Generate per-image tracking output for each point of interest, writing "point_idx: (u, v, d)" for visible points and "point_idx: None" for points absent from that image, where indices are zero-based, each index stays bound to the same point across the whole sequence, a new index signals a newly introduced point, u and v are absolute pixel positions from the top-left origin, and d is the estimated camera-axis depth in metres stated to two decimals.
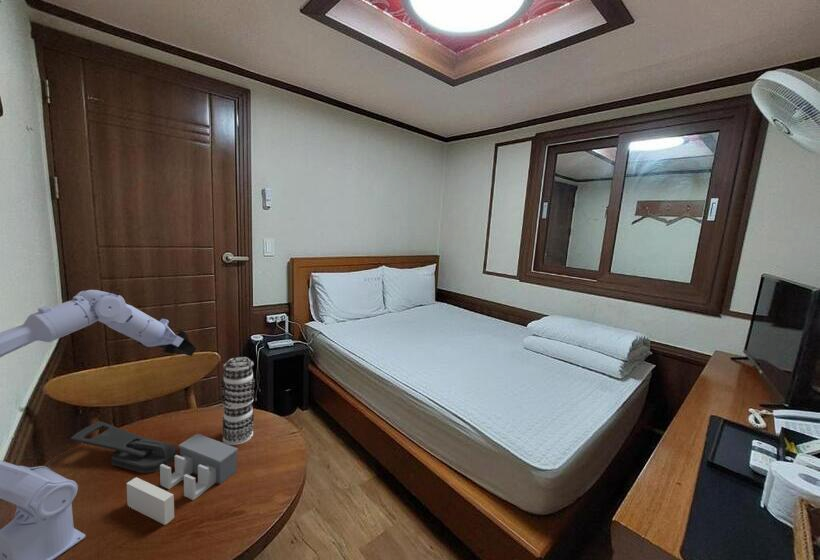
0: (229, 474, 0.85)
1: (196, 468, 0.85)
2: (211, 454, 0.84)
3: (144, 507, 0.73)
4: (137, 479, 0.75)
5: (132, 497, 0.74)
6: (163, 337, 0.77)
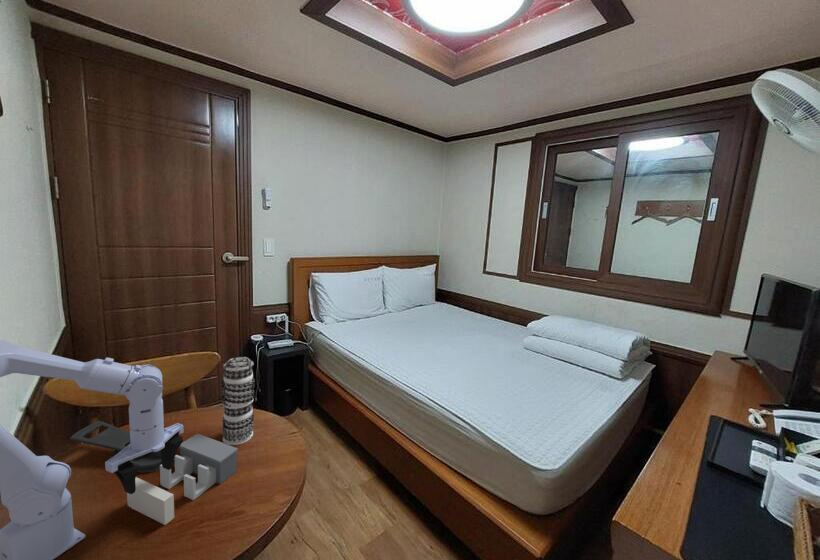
0: (229, 474, 0.85)
1: (196, 468, 0.85)
2: (211, 454, 0.84)
3: (144, 507, 0.73)
4: (137, 479, 0.75)
5: (132, 497, 0.74)
6: None
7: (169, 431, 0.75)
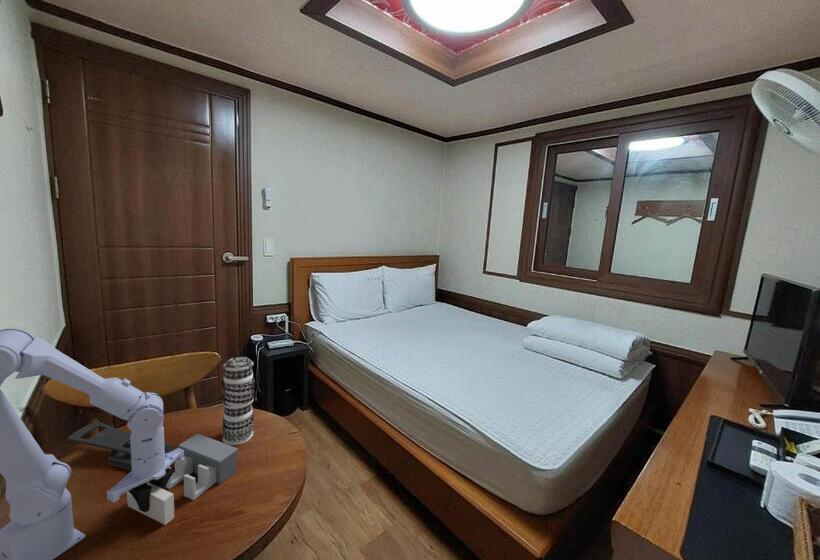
0: (229, 474, 0.85)
1: (196, 468, 0.85)
2: (211, 454, 0.84)
3: None
4: None
5: (132, 496, 0.74)
6: (131, 479, 0.69)
7: (170, 457, 0.76)
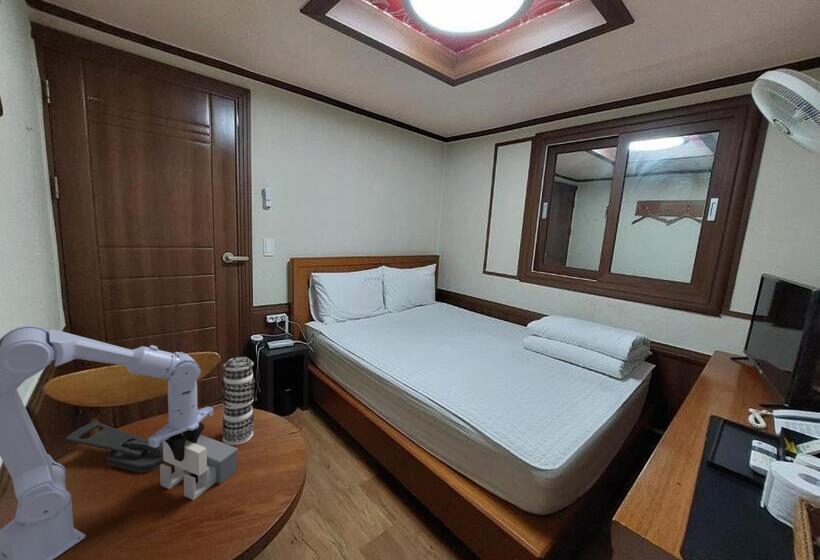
0: (229, 474, 0.85)
1: None
2: (211, 454, 0.84)
3: None
4: None
5: (167, 451, 0.80)
6: (168, 429, 0.76)
7: (201, 413, 0.83)
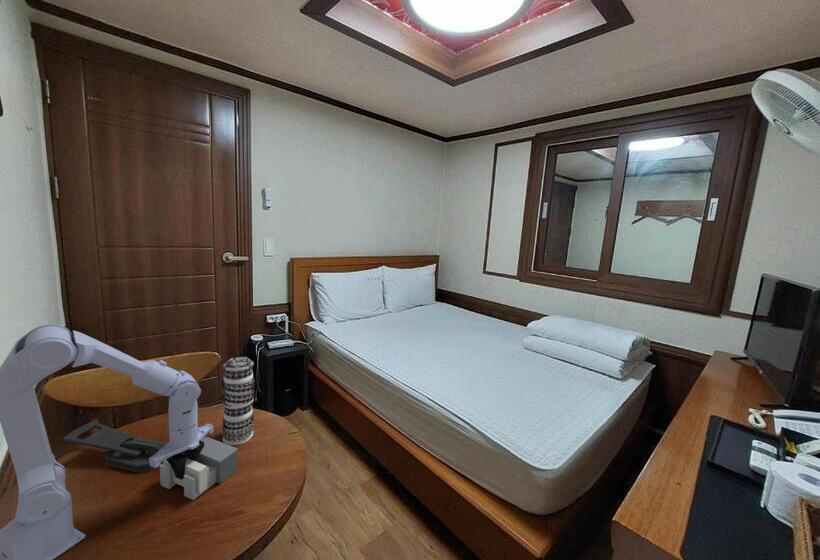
0: (229, 474, 0.85)
1: None
2: (211, 454, 0.84)
3: None
4: None
5: None
6: (169, 449, 0.76)
7: (201, 431, 0.83)
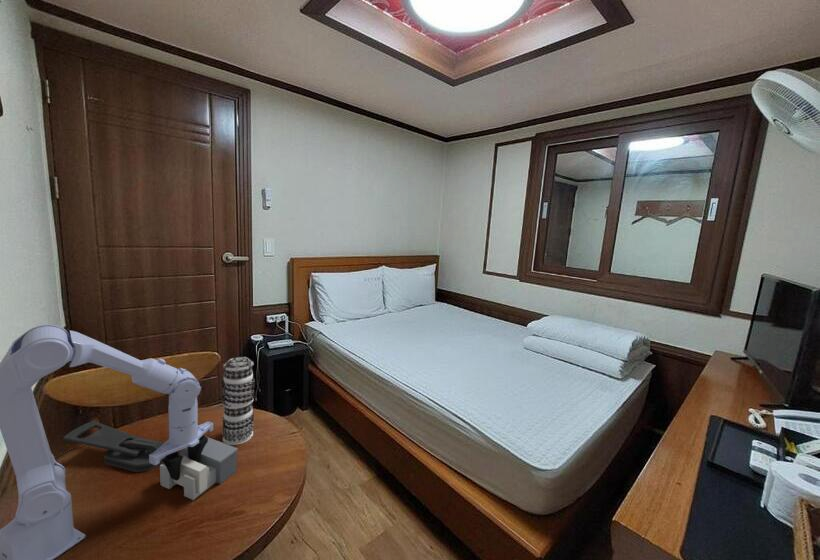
0: (229, 474, 0.85)
1: None
2: (211, 454, 0.84)
3: (180, 478, 0.80)
4: None
5: None
6: (169, 446, 0.76)
7: (201, 428, 0.83)
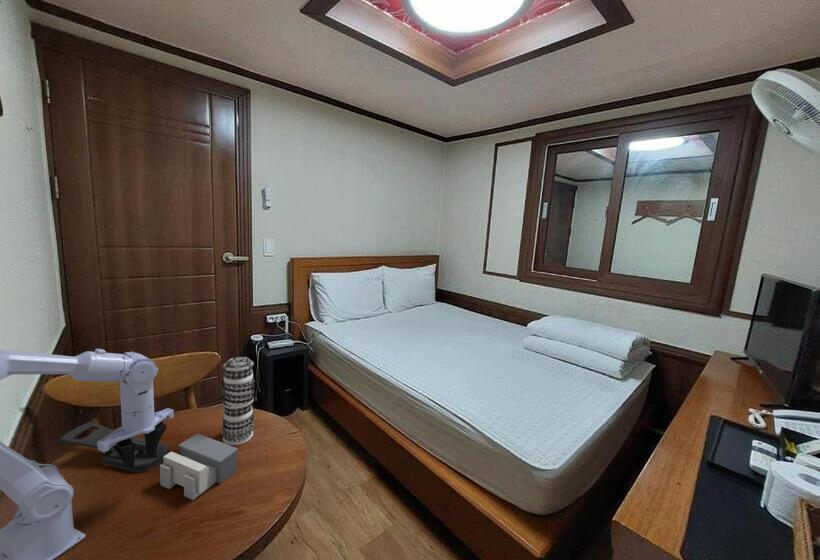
0: (229, 474, 0.85)
1: None
2: (211, 454, 0.84)
3: (180, 478, 0.80)
4: (172, 453, 0.83)
5: None
6: None
7: (159, 415, 0.79)
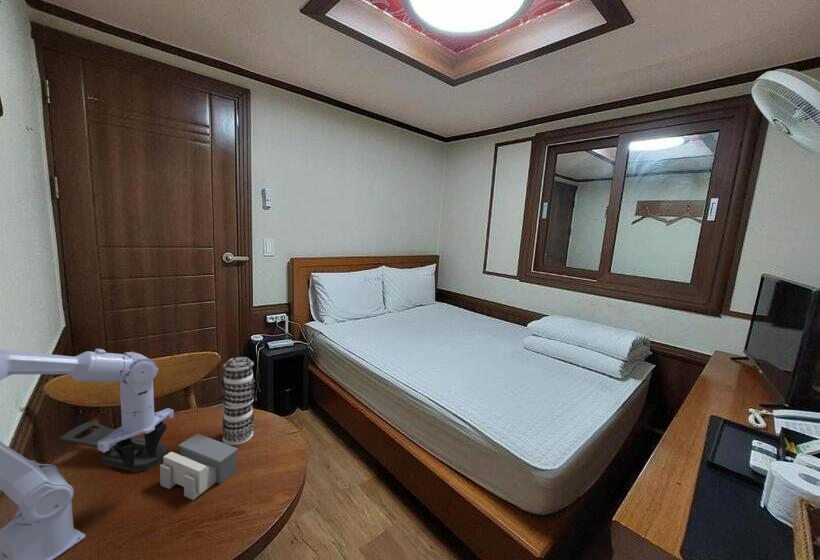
0: (229, 474, 0.85)
1: None
2: (211, 454, 0.84)
3: (180, 478, 0.80)
4: (172, 453, 0.83)
5: None
6: None
7: (159, 415, 0.79)
